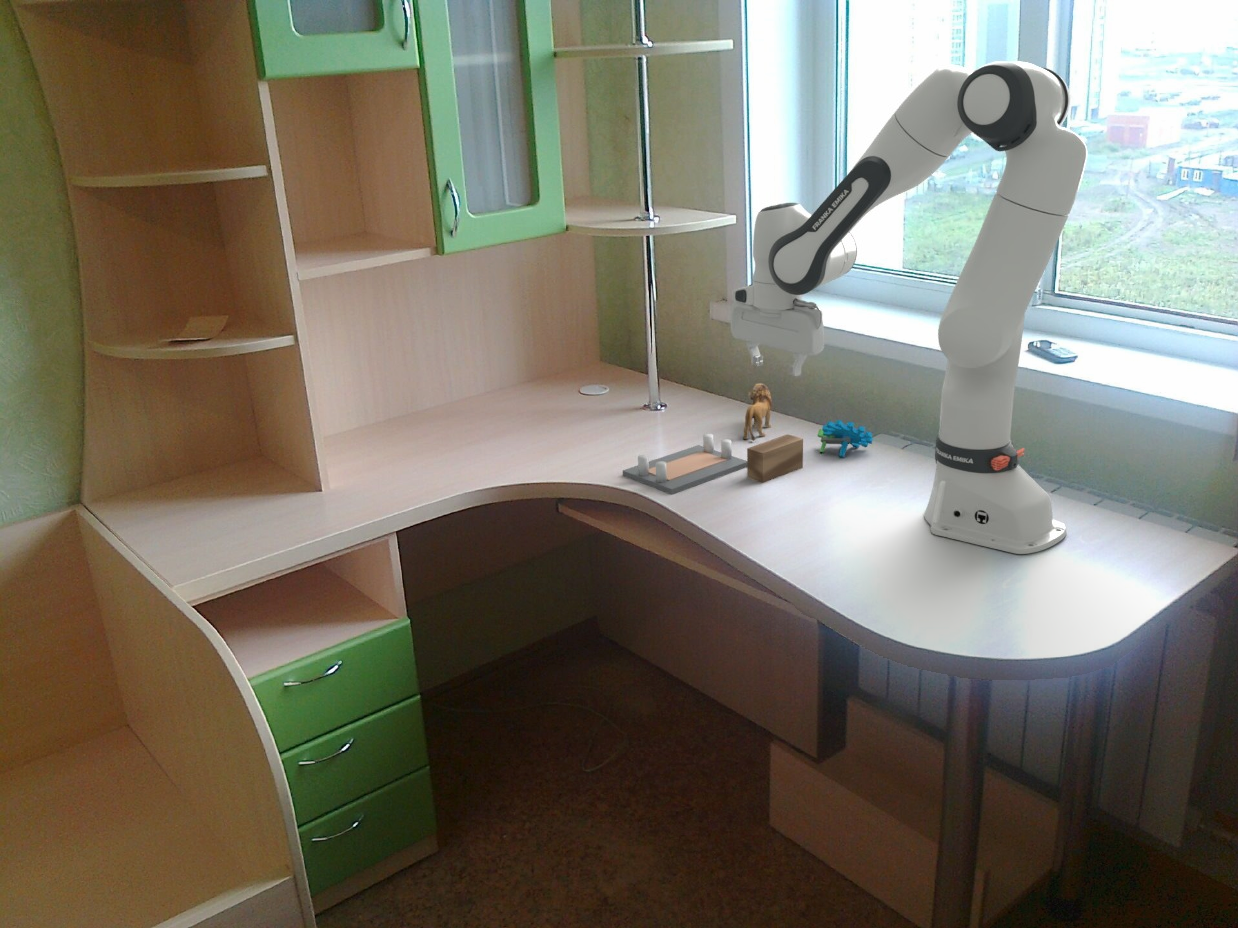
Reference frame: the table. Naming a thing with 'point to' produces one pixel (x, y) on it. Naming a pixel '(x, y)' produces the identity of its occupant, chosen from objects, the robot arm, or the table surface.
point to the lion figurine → (758, 410)
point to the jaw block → (774, 458)
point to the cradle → (686, 466)
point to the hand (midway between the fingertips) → (775, 370)
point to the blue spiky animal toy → (844, 436)
